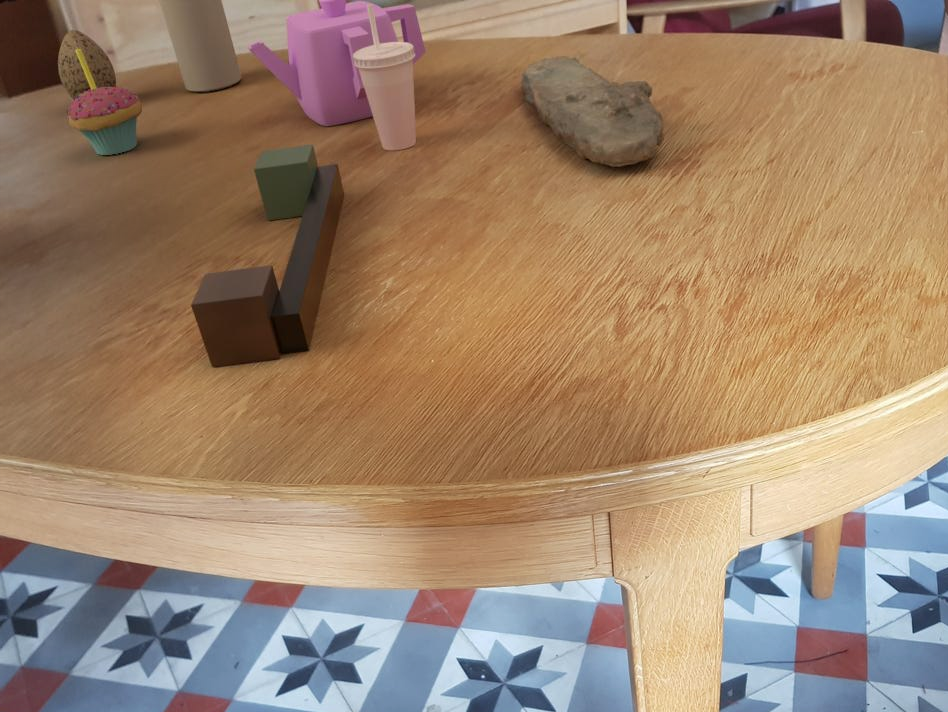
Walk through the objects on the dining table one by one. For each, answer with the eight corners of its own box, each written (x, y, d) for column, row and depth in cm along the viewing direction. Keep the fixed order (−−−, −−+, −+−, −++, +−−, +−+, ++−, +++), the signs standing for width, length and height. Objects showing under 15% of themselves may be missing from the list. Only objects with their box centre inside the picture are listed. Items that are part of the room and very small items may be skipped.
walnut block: (211, 367, 68) (190, 304, 65) (224, 334, 72) (204, 273, 69) (280, 359, 68) (261, 295, 65) (289, 325, 72) (272, 264, 69)
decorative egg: (83, 102, 136) (55, 27, 130) (131, 96, 135) (105, 20, 129) (65, 117, 130) (36, 40, 124) (115, 111, 130) (88, 33, 124)
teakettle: (382, 128, 108) (361, 10, 101) (259, 128, 114) (230, 17, 107) (443, 83, 120) (428, -25, 113) (328, 85, 126) (307, -17, 119)
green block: (267, 221, 89) (253, 169, 86) (274, 201, 93) (261, 151, 90) (319, 214, 89) (307, 161, 86) (324, 194, 93) (313, 144, 90)
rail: (281, 354, 68) (270, 316, 66) (324, 196, 93) (317, 166, 91) (309, 350, 68) (299, 313, 66) (344, 194, 93) (337, 163, 91)
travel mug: (190, 97, 130) (146, -50, 120) (183, 85, 137) (140, -56, 126) (246, 84, 132) (208, -62, 121) (237, 73, 138) (199, -67, 127)
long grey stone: (585, 85, 116) (507, 104, 115) (580, 39, 113) (500, 59, 112) (691, 157, 87) (588, 183, 87) (688, 98, 84) (580, 124, 84)
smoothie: (363, 143, 105) (336, 5, 96) (418, 130, 106) (396, -7, 97) (379, 159, 100) (352, 15, 91) (436, 145, 101) (415, 2, 93)
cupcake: (71, 154, 116) (31, 49, 108) (135, 132, 120) (100, 31, 112) (100, 166, 110) (60, 57, 103) (166, 143, 114) (131, 37, 107)
